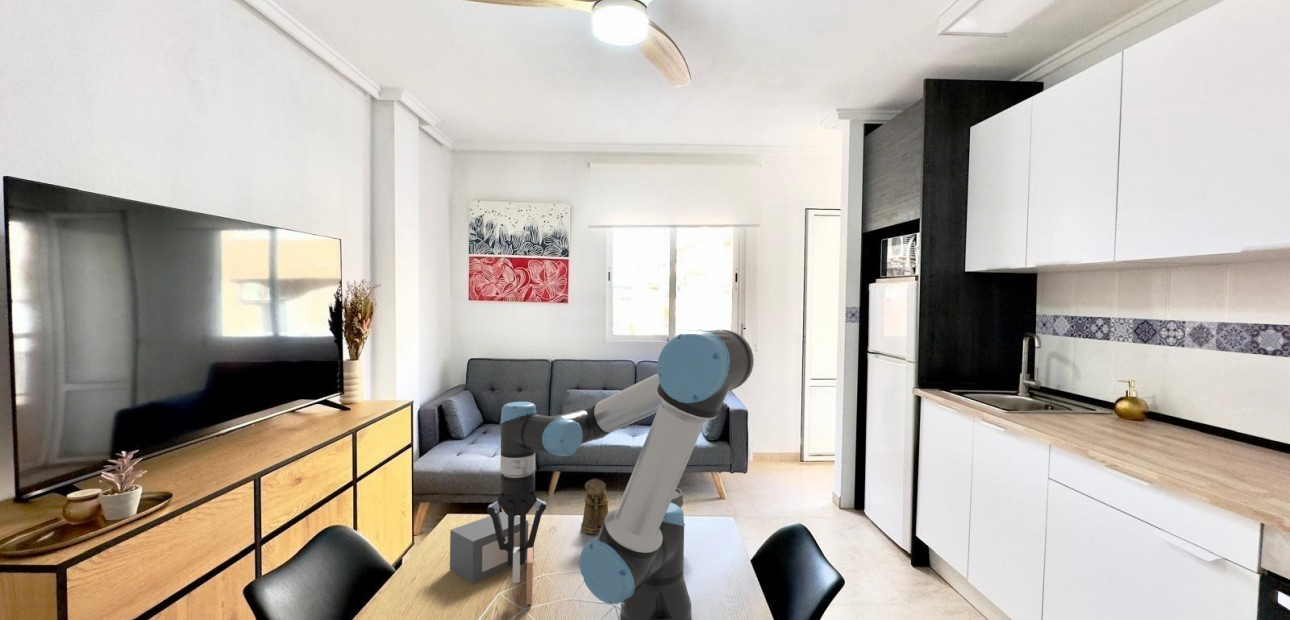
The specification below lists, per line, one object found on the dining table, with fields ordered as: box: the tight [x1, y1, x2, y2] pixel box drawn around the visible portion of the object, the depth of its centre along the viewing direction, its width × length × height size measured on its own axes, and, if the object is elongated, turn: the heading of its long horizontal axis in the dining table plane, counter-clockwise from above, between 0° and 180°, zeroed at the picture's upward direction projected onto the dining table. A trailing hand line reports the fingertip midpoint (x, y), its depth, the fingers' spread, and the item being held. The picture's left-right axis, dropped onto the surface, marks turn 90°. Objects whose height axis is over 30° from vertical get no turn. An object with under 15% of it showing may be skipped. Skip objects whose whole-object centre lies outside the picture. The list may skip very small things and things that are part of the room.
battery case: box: [449, 511, 529, 585], centre depth 129 cm, size 10×16×10 cm, turn 141°
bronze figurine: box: [580, 477, 610, 536], centre depth 149 cm, size 9×14×18 cm, turn 2°
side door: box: [525, 522, 535, 605], centre depth 121 cm, size 2×22×9 cm, turn 12°
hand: (516, 579), depth 113 cm, fingers closed
